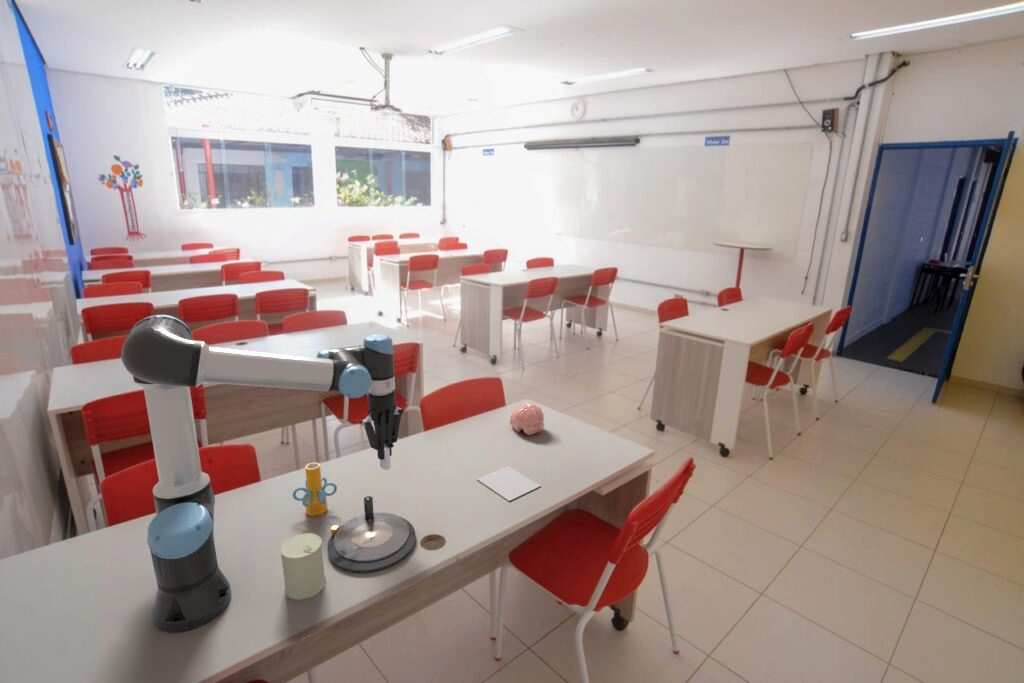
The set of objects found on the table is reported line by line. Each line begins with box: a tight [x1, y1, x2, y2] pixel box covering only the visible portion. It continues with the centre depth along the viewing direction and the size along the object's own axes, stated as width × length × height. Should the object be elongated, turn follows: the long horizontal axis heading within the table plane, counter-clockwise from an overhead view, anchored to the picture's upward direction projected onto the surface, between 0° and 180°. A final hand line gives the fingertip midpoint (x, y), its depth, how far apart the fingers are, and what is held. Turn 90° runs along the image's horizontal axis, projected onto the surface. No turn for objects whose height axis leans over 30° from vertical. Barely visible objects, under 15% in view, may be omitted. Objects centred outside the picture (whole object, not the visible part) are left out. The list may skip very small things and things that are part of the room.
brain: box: [509, 403, 545, 436], centre depth 209 cm, size 16×13×12 cm
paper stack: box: [476, 465, 542, 502], centre depth 171 cm, size 23×25×1 cm
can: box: [279, 532, 327, 601], centre depth 123 cm, size 9×9×12 cm
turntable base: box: [327, 516, 416, 574], centre depth 139 cm, size 23×23×4 cm
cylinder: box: [292, 462, 338, 517], centre depth 152 cm, size 12×10×15 cm
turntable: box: [334, 496, 409, 563], centre depth 138 cm, size 20×20×7 cm
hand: (385, 467), depth 147 cm, fingers closed
